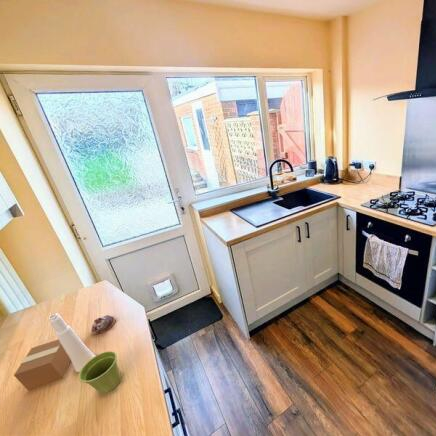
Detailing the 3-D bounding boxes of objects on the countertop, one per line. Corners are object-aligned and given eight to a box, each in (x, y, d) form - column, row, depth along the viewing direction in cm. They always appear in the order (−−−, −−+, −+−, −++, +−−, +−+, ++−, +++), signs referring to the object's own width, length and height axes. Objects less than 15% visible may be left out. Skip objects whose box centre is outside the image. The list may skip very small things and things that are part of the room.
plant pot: (84, 396, 73) (70, 378, 69) (111, 366, 81) (100, 348, 78) (108, 403, 71) (95, 384, 67) (134, 371, 79) (123, 353, 75)
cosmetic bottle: (79, 375, 80) (43, 327, 70) (71, 367, 83) (36, 319, 73) (99, 359, 84) (68, 312, 75) (92, 352, 87) (61, 306, 78)
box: (27, 391, 76) (12, 374, 73) (43, 363, 85) (31, 347, 82) (63, 378, 79) (50, 362, 76) (75, 352, 88) (64, 337, 84)
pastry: (92, 338, 93) (86, 328, 91) (91, 326, 98) (86, 317, 96) (117, 326, 97) (111, 316, 95) (114, 315, 103) (109, 306, 101)
